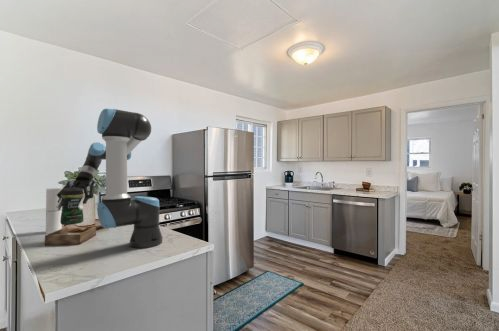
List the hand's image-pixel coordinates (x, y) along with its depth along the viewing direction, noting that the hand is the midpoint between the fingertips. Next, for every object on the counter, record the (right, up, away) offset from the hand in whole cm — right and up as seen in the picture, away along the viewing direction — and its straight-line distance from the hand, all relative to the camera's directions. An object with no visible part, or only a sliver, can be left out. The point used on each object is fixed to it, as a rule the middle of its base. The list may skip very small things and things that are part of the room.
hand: (68, 208), depth 122 cm
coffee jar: (-1, -8, +3) cm, 9 cm away
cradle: (0, -17, +3) cm, 17 cm away
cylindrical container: (-21, -17, +17) cm, 32 cm away
